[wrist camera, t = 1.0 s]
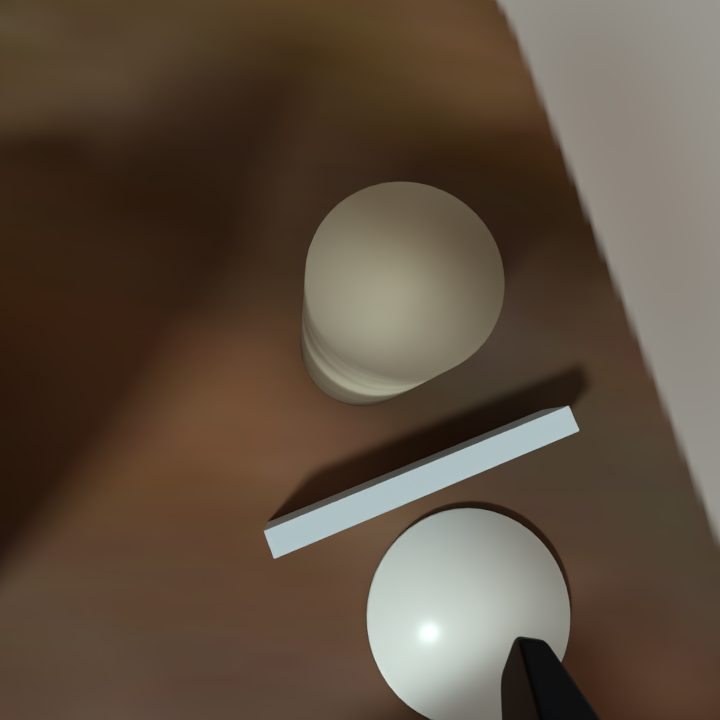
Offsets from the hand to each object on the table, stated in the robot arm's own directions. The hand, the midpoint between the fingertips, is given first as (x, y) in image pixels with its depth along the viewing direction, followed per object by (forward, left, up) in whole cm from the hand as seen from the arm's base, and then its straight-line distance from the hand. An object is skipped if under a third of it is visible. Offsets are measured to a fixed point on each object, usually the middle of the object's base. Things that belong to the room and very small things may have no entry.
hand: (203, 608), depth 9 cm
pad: (0, -9, -15) cm, 18 cm away
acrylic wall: (+4, -5, -15) cm, 16 cm away
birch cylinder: (+8, -1, -15) cm, 17 cm away
